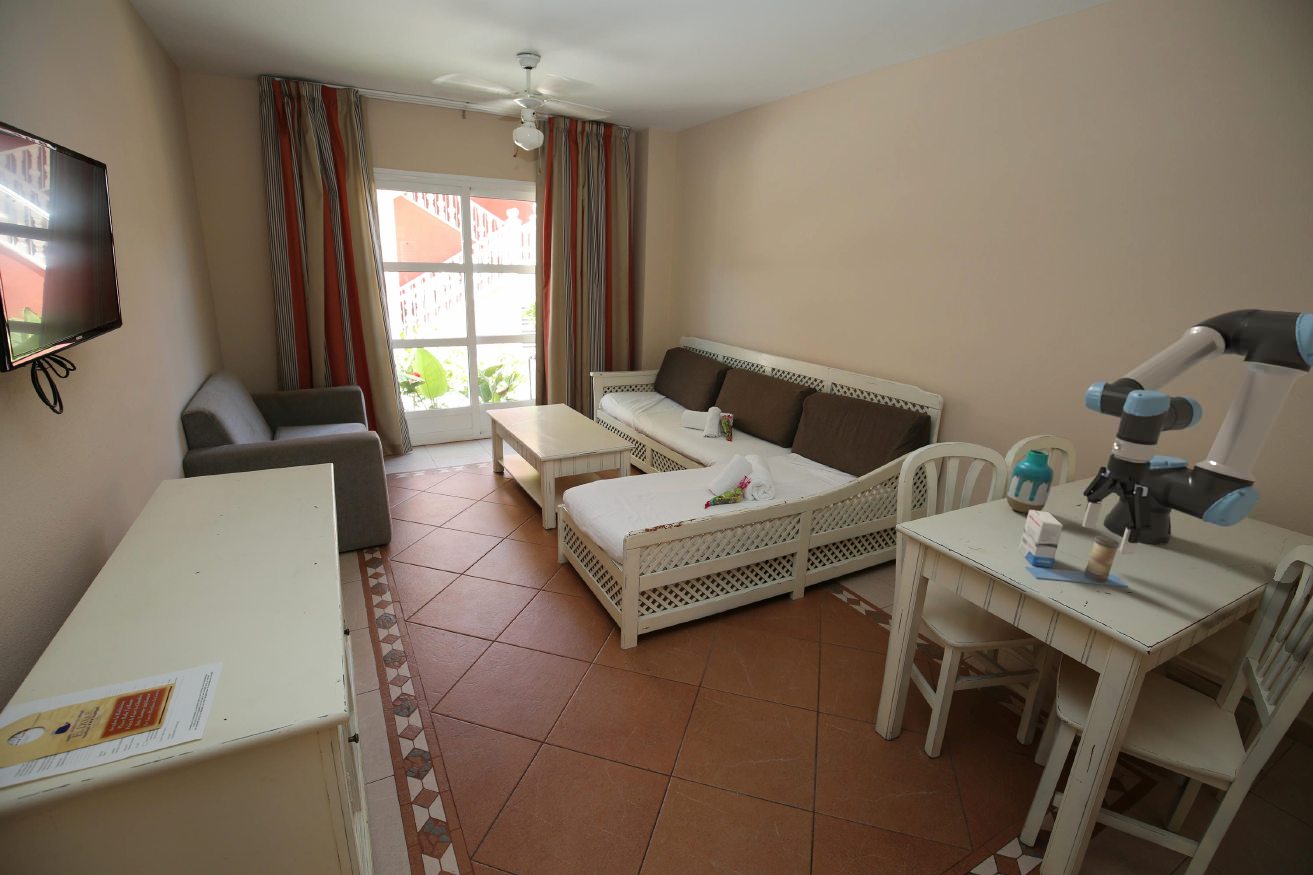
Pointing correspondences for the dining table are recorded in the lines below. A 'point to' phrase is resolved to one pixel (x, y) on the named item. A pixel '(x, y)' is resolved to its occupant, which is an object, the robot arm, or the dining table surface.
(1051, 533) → the ink box
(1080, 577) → the tape line
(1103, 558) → the tan cylindrical piece
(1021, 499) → the vase
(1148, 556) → the dining table surface
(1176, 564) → the dining table surface
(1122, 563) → the dining table surface
